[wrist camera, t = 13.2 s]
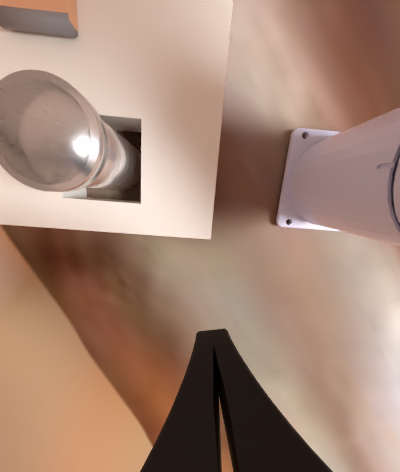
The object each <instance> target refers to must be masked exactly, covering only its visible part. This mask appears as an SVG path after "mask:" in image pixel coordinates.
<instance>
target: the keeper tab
mask: <svg viewBox="0 0 400 472" xmlns="http://www.w3.org/2000/svg"><path fill="white" fill-rule="evenodd" d="M0 26H1V27H2V28H3V29H9V30H18V31H27V32H36V33H45V34H54V35H63V36H72V37H77V36H78V25H77V5H76V0H0Z"/></svg>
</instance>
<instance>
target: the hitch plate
mask: <svg viewBox="0 0 400 472" xmlns="http://www.w3.org/2000/svg"><path fill="white" fill-rule="evenodd" d="M76 5H77V25H78V36H77V37H72V36H63V35H54V34H45V33H36V32H27V31H18V30H9V29H3V28H2V27H1V26H0V80H1V79H3V78H4V77H6V76H7V75H9V74H11V73H14V72H17V71H21V70H29V69H31V70H41V71H46V72H49V73H52V74H54V75H56V76H58V77H60V78H62V79H64V80H65V81H67V82H68V83H69V84H71V85H72V86H73V87H74V88H75V89H76V90H78V91H79V92H80V93H81V94H82V95H83V96H84V97H85V98H86V99H87V100H88V101H89V102H90V103H91V104H92V105H93V106H94V108H95V109H96V110H97V112H98V114H99V115H100V117H101V119H102V120H103V121H104V122H105V123H106V124H107V125H109V126H110V127H111V128H112V129H114V130H120V131H131V132H141V201H131V200H118V199H105V198H92V197H87V189H86V187H84V188H82V189H80V190H76V191H72V192H49V191H41V190H37V189H34V188H31V187H29V186H26V185H24V184H22V183H21V182H19V181H17V180H16V179H15V178H13V177H12V176H11V175H10V174H9V173H7V172H6V171H5V169H4V168H3V167H2V166H1V165H0V224H3V225H17V226H31V227H45V228H59V229H73V230H87V231H101V232H115V233H129V234H143V235H157V236H171V237H185V238H199V239H211V230H212V219H213V209H214V198H215V187H216V177H217V166H218V156H219V145H220V134H221V124H222V113H223V102H224V92H225V81H226V71H227V60H228V49H229V39H230V28H231V18H232V7H233V0H76Z"/></svg>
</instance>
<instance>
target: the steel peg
mask: <svg viewBox="0 0 400 472" xmlns="http://www.w3.org/2000/svg"><path fill="white" fill-rule="evenodd" d="M0 165H1V166H2V167H3V168H4V169H5V171H6V172H7V173H9V174H10V175H11V176H12V177H13V178H15V179H16V180H17V181H19V182H21V183H22V184H24V185H26V186H29V187H31V188H34V189H37V190H41V191H49V192H72V191H76V190H80V189H82V188H84V187H86V188H99V189H112V190H127V189H130V188H132V187H134V186H135V185H137V184H138V183H139V181H140V180H141V154H140V153H139V151H138V150H137V149H136V148H135V147H134V146H133V145H132V144H131V143H130V142H128V141H127V140H126V139H125V138H123V137H122V136H121V135H120V134H119V133H117V132H116V131H115V130H114V129H112V128H111V127H110V126H109V125H107V124H106V123H105V122H104V121H103V120H102V119H101V117H100V115H99V114H98V112H97V110H96V109H95V108H94V106H93V105H92V104H91V103H90V102H89V101H88V100H87V99H86V98H85V97H84V96H83V95H82V94H81V93H80V92H79V91H78V90H76V89H75V88H74V87H73V86H72V85H71V84H69V83H68V82H67V81H65V80H64V79H62V78H60V77H58V76H56V75H54V74H52V73H49V72H46V71H41V70H31V69H29V70H21V71H17V72H14V73H11V74H9V75H7V76H6V77H4V78H3V79H1V80H0Z"/></svg>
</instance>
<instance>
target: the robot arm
mask: <svg viewBox="0 0 400 472" xmlns="http://www.w3.org/2000/svg"><path fill="white" fill-rule="evenodd" d="M303 133H304V134H305V135H306V137H305V139H304V138H303V137H302V134H303ZM288 219H289V220H290V222H289V223H288V224H286V221H287V220H288ZM276 223H277V225H278V226H280V227H289V228H302V229H316V230H329V231H342V232H347V233H351V234H355V235H359V236H363V237H367V238H371V239H375V240H379V241H382V242H386V243H390V244H394V245H398V246H400V107H399V108H397V109H394V110H392V111H390V112H387V113H385V114H383V115H380V116H378V117H376V118H373V119H371V120H369V121H366V122H364V123H362V124H359V125H357V126H355V127H352V128H350V129H347V130H345V131H343V132H338V131H328V130H317V129H307V128H297V129H295V130H294V131H293V132H292V133H291V137H290V143H289V149H288V154H287V160H286V166H285V172H284V178H283V184H282V189H281V195H280V201H279V207H278V213H277V219H276ZM219 398H220V403H221V409H222V414H223V419H224V424H225V430H226V435H227V440H228V445H229V450H230V456H231V461H232V466H233V472H332V470H331V469H330V468H329V467H328V466H327V465H326V464H325V463H324V462H323V461H322V460H321V459H320V457H319V456H318V455H317V454H316V453H315V452H314V451H313V450H312V449H311V448H310V447H309V445H308V444H307V443H306V442H305V441H304V440H303V438H302V437H301V436H300V435H299V434H298V433H297V431H296V430H295V429H294V428H293V427H292V426H291V424H290V423H289V422H288V421H287V419H286V418H285V417H284V416H283V415H282V413H281V412H280V411H279V410H278V408H277V407H276V406H275V404H274V403H273V402H272V401H271V399H270V398H269V397H268V395H267V394H266V393H265V391H264V390H263V388H262V387H261V386H260V384H259V383H258V382H257V380H256V379H255V377H254V376H253V374H252V373H251V371H250V370H249V368H248V367H247V365H246V364H245V362H244V361H243V359H242V357H241V356H240V354H239V352H238V351H237V349H236V347H235V345H234V344H233V342H232V340H231V338H230V336H229V333H228V331H227V330H226V329H218V330H208V331H199V332H198V333H197V334H196V340H195V344H194V348H193V352H192V355H191V359H190V362H189V365H188V368H187V371H186V373H185V376H184V379H183V382H182V384H181V387H180V389H179V392H178V394H177V397H176V399H175V402H174V404H173V406H172V408H171V411H170V413H169V415H168V417H167V419H166V422H165V424H164V426H163V428H162V430H161V432H160V434H159V436H158V438H157V440H156V442H155V444H154V446H153V448H152V450H151V452H150V454H149V456H148V458H147V460H146V462H145V464H144V466H143V467H142V469H141V471H140V472H222V467H221V441H220V416H219Z"/></svg>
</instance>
